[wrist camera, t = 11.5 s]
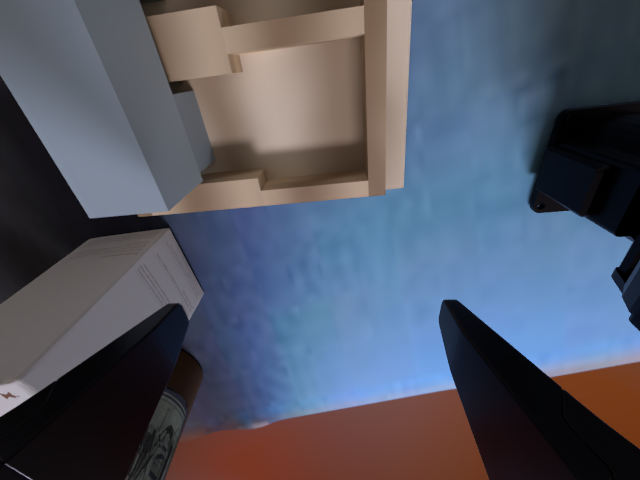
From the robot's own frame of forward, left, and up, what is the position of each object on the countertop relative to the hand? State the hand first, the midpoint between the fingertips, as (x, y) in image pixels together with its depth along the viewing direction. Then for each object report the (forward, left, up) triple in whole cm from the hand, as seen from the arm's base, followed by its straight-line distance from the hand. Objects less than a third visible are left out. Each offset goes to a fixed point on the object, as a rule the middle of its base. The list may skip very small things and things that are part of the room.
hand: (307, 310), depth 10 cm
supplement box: (+15, +6, -12) cm, 20 cm away
